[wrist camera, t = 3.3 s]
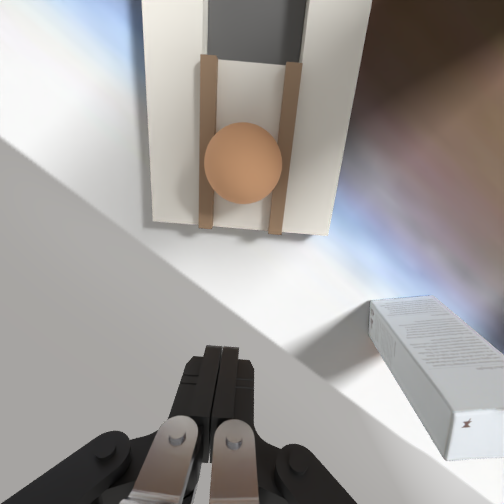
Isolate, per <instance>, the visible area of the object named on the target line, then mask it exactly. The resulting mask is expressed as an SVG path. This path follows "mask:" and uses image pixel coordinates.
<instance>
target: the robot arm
mask: <svg viewBox="0 0 504 504" xmlns="http://www.w3.org/2000/svg"><path fill="white" fill-rule="evenodd" d="M238 354H239V348H238V347H226V346H224V347H223V352H222V346H211V345H207V346H206V349H205V353H204V356H203V357H197V356H193V357H192V358H191V360H190V361H189V362H188V363H187V364H186V366H185V369H184V373H183V376H182V379H181V381H180V385H179V387H178V391H177V394H176V396H175V400H174V403H173V406H172V409H171V412H170V415H169V417H168V419H167V420H166V421H165V422H164V423H163V424H162V425H161V426H160V428H159V429H158V430H157V431H156V432H154V433H152V434H150V435H147V436H144V437H140V438H136V439H132V440H129V438H128V436H127V435H126V434H125V433H123V432H120V431H110V432H106V433H103V434H101V435H99V436H98V437H96V438H95V439H93V440H92V441H90V442H89V443H88V444H86V445H85V446H83V447H82V448H80V449H79V450H77V451H76V452H75V453H73V454H72V455H70V456H69V457H67V458H66V459H64V460H63V461H62V462H60V463H59V464H57V465H56V466H55V467H53V468H52V469H50V470H49V471H47V472H46V473H44V474H43V475H42V476H40V477H39V478H37V479H36V480H34V481H33V482H32V483H30V484H29V485H27V486H26V487H24V488H23V489H21V490H20V491H19V492H17V493H16V494H14V495H13V496H11V497H10V498H9V499H7V500H6V501H4V502H3V503H1V504H193V502H194V498H195V494H196V490H197V483H198V480H199V475H200V469H201V464H202V463H208V460H209V453H210V463H212V472H211V486H210V500H209V504H357V503H356V502H355V501H354V499H352V497H351V496H350V495H349V494H348V493H347V492H346V490H345V489H344V488H343V487H342V486H341V485H340V484H339V483H338V482H337V480H336V479H335V478H334V477H333V476H332V475H331V474H330V472H329V471H328V470H327V469H326V468H325V467H324V466H323V465H322V464H321V462H320V461H319V460H318V459H317V458H316V457H315V456H314V454H313V453H312V452H310V450H308V449H307V448H305V447H304V446H301V445H298V444H289V445H286V446H284V447H283V448H282V449H279V448H277V447H275V446H272V445H270V444H268V443H266V442H265V441H264V440H262V439H261V438H260V436H259V435H258V434H257V432H256V430H255V427H254V368H253V366H252V364H251V362H250V360H240V359H238Z"/></svg>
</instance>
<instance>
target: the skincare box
mask: <svg viewBox="0 0 504 504" xmlns="http://www.w3.org/2000/svg"><path fill="white" fill-rule="evenodd" d="M369 337H370V338H371V340H372V342H373V343H374V345H375V347H376V348H377V350H378V352H379V353H380V355H381V356H382V358H383V360H384V361H385V363H386V365H387V366H388V368H389V370H390V371H391V373H392V375H393V376H394V378H395V380H396V381H397V383H398V384H399V386H400V388H401V389H402V391H403V393H404V394H405V396H406V398H407V399H408V401H409V403H410V404H411V406H412V407H413V409H414V411H415V412H416V414H417V416H418V417H419V419H420V421H421V422H422V424H423V426H424V427H425V429H426V430H427V432H428V434H429V435H430V437H431V439H432V440H433V442H434V444H435V445H436V447H437V449H438V450H439V452H440V454H441V455H442V457H443V458H444V460H446V461H456V460H468V459H482V458H503V457H504V355H503V354H502V353H501V352H500V351H498V350H497V349H496V348H495V347H494V346H493V345H491V344H490V343H489V342H488V341H487V340H485V339H484V338H483V337H482V336H481V335H480V334H478V333H477V332H476V331H475V330H474V329H472V328H471V327H470V326H469V325H468V324H466V323H465V322H464V321H463V320H462V319H461V318H459V317H458V316H457V315H456V314H455V313H453V312H452V311H451V310H450V309H449V308H447V307H446V306H445V305H444V304H443V303H442V302H440V301H439V300H438V299H437V298H435V297H434V296H433V295H428V296H417V297H406V298H394V299H382V300H371V301H370V319H369Z"/></svg>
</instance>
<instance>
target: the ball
mask: <svg viewBox="0 0 504 504" xmlns="http://www.w3.org/2000/svg"><path fill="white" fill-rule="evenodd" d="M204 168H205V173H206V177H207V179H208V181H209V183H210V185H211V187H212V188H213V189H214V191H215V192H216V193H217V194H218V195H220V196H221V197H222V198H224V199H226V200H228V201H230V202H233V203H237V204H250V203H254V202H257V201H260V200H261V199H263V198H265V197H266V196H267V195H269V194H270V193H271V192H272V190H273V189H274V188H275V186H276V185H277V183H278V181H279V179H280V175H281V171H282V156H281V152H280V149H279V146H278V144H277V142H276V141H275V139H274V138H273V137H272V135H271V134H270V133H269V132H267V131H266V130H265V129H263V128H262V127H260V126H258V125H255V124H252V123H247V122H239V123H233V124H230V125H228V126H225V127H224V128H222V129H221V130H219V131H218V132H217V133H216V134H215V135H214V136H213V137H212V139H211V140H210V142H209V144H208V146H207V149H206V152H205V157H204Z"/></svg>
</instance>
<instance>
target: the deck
mask: <svg viewBox="0 0 504 504" xmlns="http://www.w3.org/2000/svg"><path fill="white" fill-rule="evenodd" d="M305 4H306V8H305ZM371 4H372V0H142V17H143V37H144V56H145V76H146V96H147V115H148V135H149V155H150V174H151V194H152V214H153V221H155V222H167V223H179V224H191V225H199V228H204V229H212V227H213V226H215V227H227V228H239V229H251V230H263V231H268V234H276V235H281V234H282V232H287V233H299V234H311V235H323V236H328V233H329V227H330V222H331V217H332V211H333V206H334V201H335V195H336V190H337V185H338V179H339V174H340V169H341V164H342V158H343V153H344V148H345V142H346V137H347V132H348V126H349V121H350V116H351V110H352V105H353V100H354V95H355V89H356V84H357V79H358V73H359V68H360V63H361V57H362V52H363V47H364V41H365V36H366V31H367V26H368V20H369V15H370V10H371ZM208 8H209V19H208ZM304 12H305V16H304ZM303 21H304V24H303ZM302 29H303V33H302ZM301 38H302V41H301ZM300 46H301V49H300ZM299 54H300V58H299ZM239 122H247V123H252V124H255V125H258V126H260V127H262V128H263V129H265V130H266V131H267V132H269V133H270V134H271V135H272V137H273V138H274V139H275V141H276V142H277V144H278V146H279V149H280V152H281V156H282V171H281V175H280V179H279V181H278V183H277V185H276V186H275V188H274V189H273V190H272V192H271V193H270V194H269V195H267V196H266V197H265V198H263V199H261V200H260V201H257V202H254V203H250V204H237V203H233V202H230V201H228V200H226V199H224V198H222V197H221V196H220V195H218V194H217V193H216V192H215V191H214V189H213V188H212V187H211V185H210V183H209V181H208V179H207V177H206V173H205V168H204V157H205V152H206V149H207V146H208V144H209V142H210V140H211V139H212V137H213V136H214V135H215V134H216V133H217V132H218V131H219V130H221V129H222V128H224V127H225V126H228V125H230V124H233V123H239Z"/></svg>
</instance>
